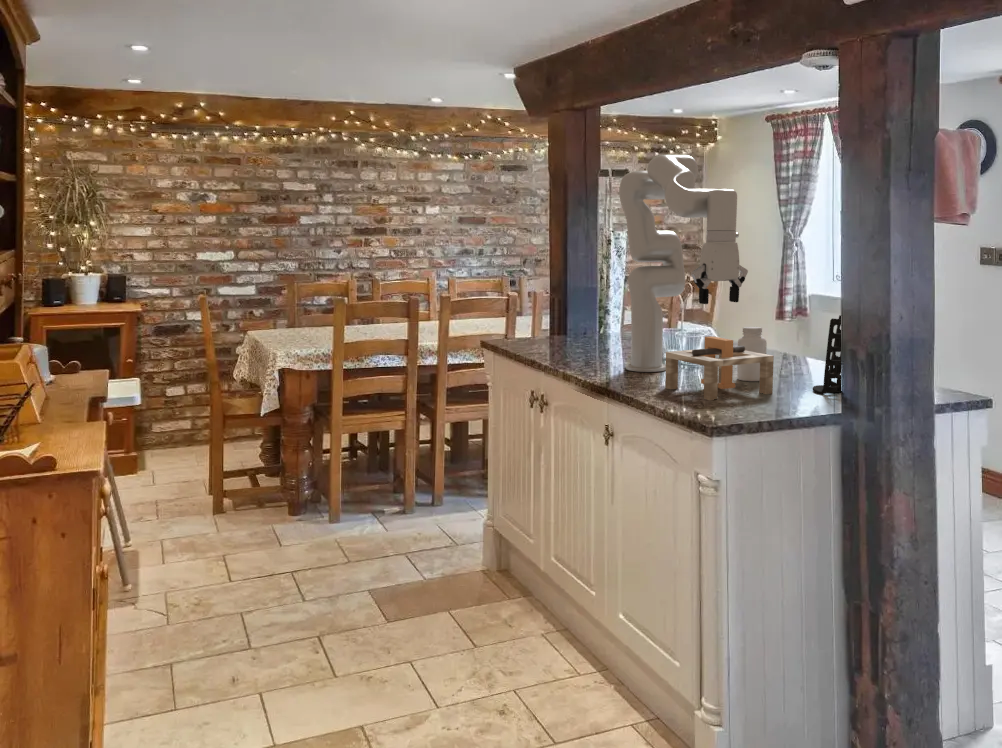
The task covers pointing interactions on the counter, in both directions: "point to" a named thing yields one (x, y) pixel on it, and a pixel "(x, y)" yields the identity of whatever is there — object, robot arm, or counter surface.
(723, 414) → the counter surface
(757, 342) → the pill bottle
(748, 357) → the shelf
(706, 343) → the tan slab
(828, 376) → the holder
